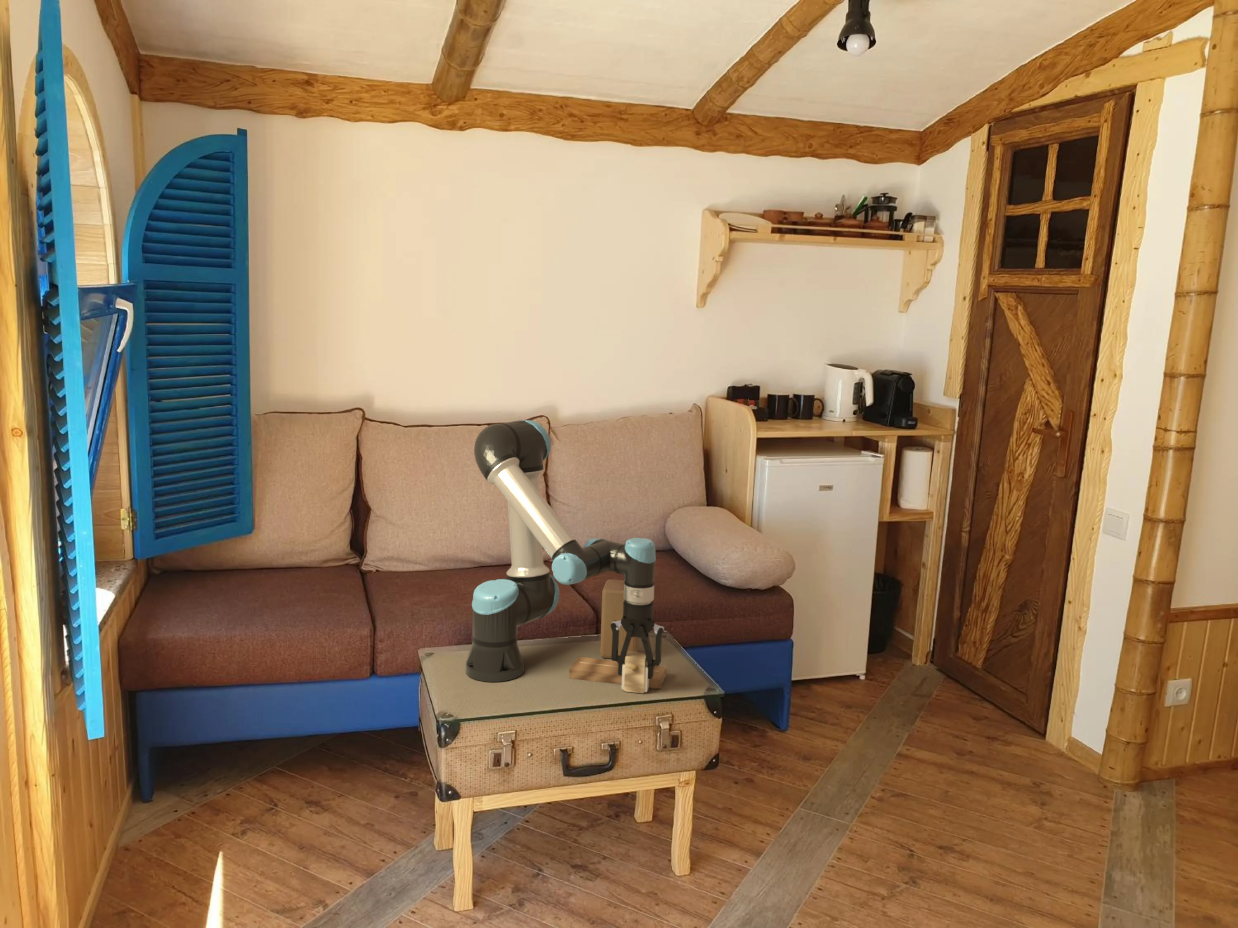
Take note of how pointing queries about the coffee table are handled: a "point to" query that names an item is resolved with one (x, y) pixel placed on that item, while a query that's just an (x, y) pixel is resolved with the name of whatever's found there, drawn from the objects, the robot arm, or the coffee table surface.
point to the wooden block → (613, 618)
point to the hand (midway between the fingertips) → (635, 688)
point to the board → (608, 672)
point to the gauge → (634, 672)
